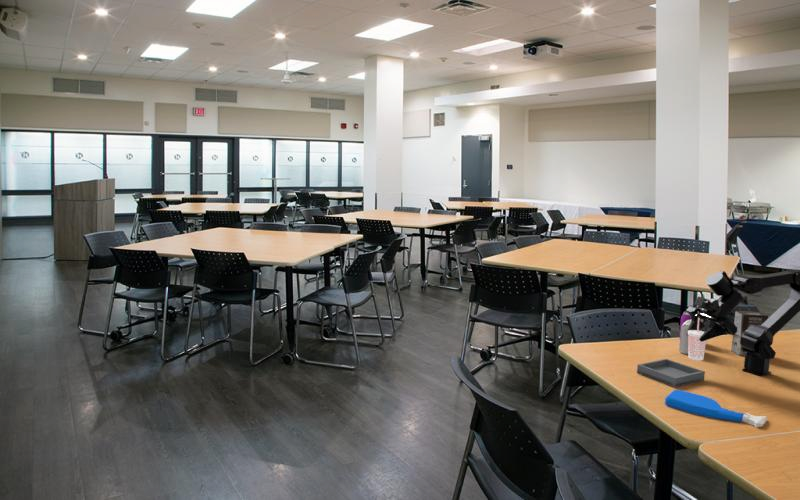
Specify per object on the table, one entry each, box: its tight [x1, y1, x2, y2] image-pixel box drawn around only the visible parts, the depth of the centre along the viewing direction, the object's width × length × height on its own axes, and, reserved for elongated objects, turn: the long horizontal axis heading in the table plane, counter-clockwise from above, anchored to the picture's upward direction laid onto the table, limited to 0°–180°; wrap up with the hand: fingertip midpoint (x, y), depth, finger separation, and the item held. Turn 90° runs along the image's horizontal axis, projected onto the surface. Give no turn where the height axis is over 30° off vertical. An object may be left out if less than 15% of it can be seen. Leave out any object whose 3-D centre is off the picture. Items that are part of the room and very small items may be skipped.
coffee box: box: [730, 310, 769, 357], centre depth 212 cm, size 9×6×16 cm
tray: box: [636, 358, 706, 388], centre depth 187 cm, size 15×15×3 cm
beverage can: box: [679, 311, 702, 339], centre depth 227 cm, size 8×8×12 cm
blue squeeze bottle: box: [664, 389, 768, 428], centre depth 159 cm, size 3×11×24 cm
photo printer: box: [678, 320, 691, 355], centre depth 215 cm, size 10×4×12 cm, turn 134°
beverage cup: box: [687, 318, 707, 361], centre depth 187 cm, size 6×6×14 cm
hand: (693, 337), depth 187 cm, fingers closed on beverage cup, 6 cm apart
